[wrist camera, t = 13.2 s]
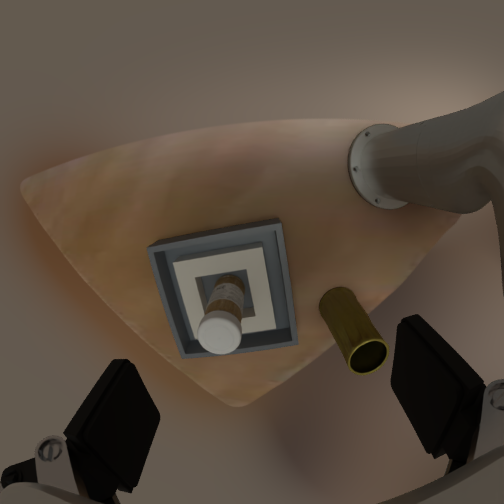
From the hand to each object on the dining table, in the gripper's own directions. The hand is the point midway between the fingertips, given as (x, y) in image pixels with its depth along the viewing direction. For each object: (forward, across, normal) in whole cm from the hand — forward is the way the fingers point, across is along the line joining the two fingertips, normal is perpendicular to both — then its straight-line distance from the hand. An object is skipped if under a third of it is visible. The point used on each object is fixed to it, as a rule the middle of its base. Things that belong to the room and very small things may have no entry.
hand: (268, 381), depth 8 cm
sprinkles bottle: (+30, +6, +8) cm, 31 cm away
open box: (+30, +6, +8) cm, 32 cm away
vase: (+31, -10, +14) cm, 35 cm away
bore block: (+30, +6, +8) cm, 32 cm away
